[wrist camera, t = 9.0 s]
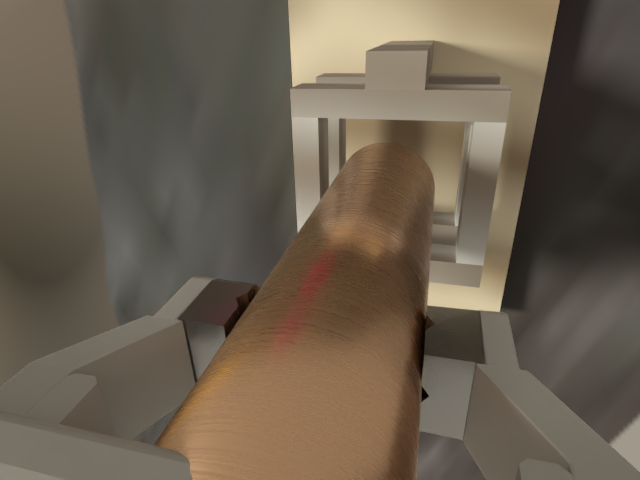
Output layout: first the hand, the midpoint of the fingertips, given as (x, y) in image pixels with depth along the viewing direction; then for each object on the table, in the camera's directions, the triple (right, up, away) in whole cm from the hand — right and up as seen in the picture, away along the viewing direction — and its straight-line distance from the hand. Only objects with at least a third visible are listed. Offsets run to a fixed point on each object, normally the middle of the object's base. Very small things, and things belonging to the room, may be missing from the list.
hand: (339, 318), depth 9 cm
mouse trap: (+4, +7, +15) cm, 17 cm away
